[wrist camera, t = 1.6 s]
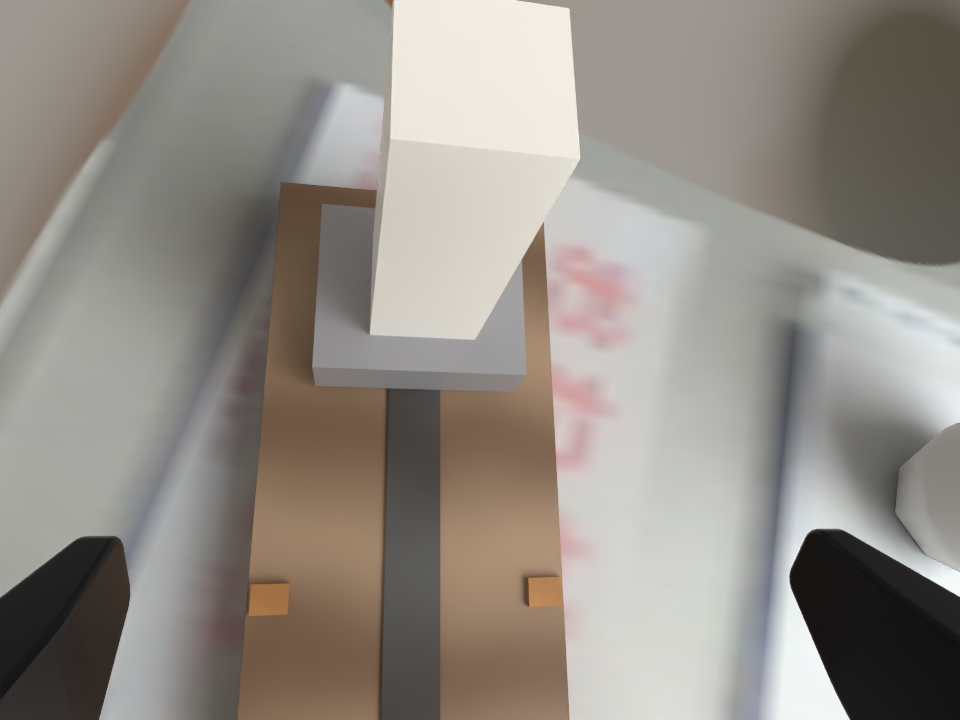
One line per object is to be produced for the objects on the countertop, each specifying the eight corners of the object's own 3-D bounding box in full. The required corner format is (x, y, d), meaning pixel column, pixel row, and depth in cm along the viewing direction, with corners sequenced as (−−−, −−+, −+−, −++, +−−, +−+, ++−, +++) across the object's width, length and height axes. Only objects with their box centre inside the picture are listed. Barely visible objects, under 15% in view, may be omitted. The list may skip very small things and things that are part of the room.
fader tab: (510, 392, 21) (673, 222, 10) (315, 385, 20) (282, 187, 9) (505, 249, 22) (645, -24, 12) (323, 235, 21) (303, -80, 11)
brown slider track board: (551, 761, 20) (574, 784, 18) (241, 786, 18) (227, 815, 16) (527, 232, 25) (544, 202, 23) (286, 212, 23) (280, 179, 21)
